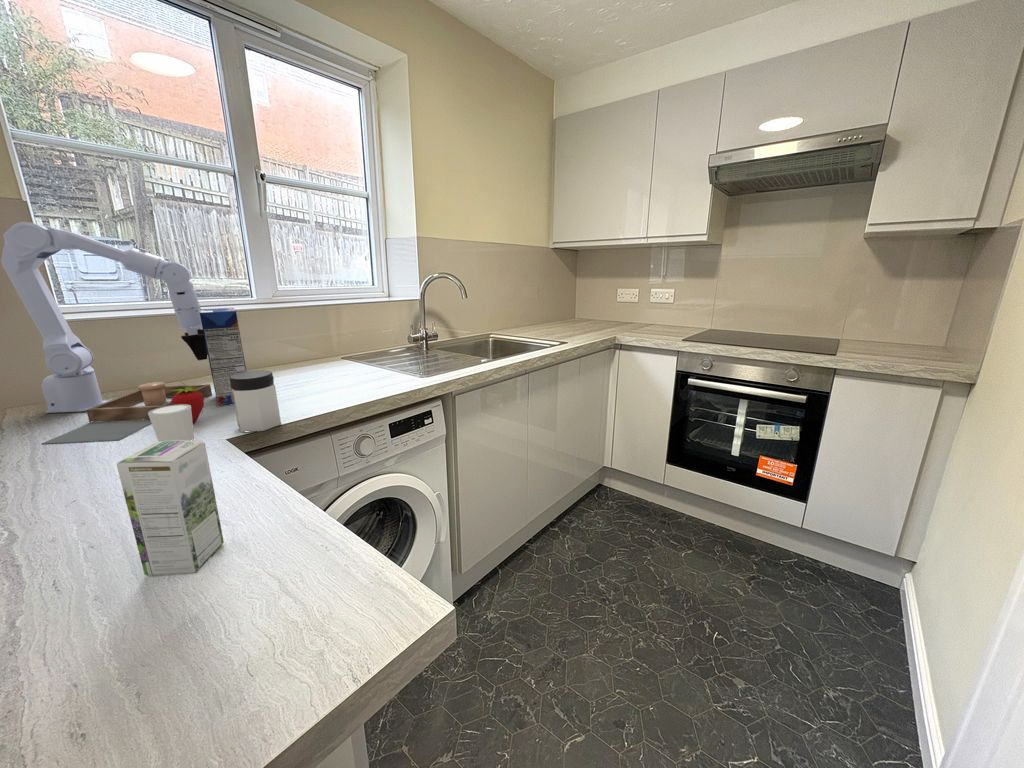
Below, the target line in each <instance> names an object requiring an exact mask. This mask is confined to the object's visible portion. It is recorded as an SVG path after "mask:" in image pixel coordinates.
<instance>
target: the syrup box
mask: <svg viewBox="0 0 1024 768" xmlns="http://www.w3.org/2000/svg"><path fill="white" fill-rule="evenodd" d="M116 467H117V472H118V476H119V479H120V483H121V488H122V492H123V495H124V499H125V503H126V507H127V512H128V515H129V518H130V523H131V527H132V531H133V534H134V537H135V542H136V545H137V551H138V554H139V558H140V562H141V566H142V570H143V574H144V576H148V577H149V576H166V575H168V576H170V575H181V574H182V575H183V574H185V575H186V574H196V573H197V572H198V571H199V570H200V569H201V568H203V566H204V565H205V564H206V563H207V562H208V560H210V558H211V557H212V556H213V555H214V554H215V553H216V552H217V551H218V550H219V549H220V547H222V546H223V544H224V542H225V541H224V536H223V530H222V525H221V520H220V515H219V510H218V505H217V499H216V495H215V494H216V493H215V488H214V483H213V477H212V472H211V468H210V462H209V458H208V452H207V446H206V443H205V442H204V441H200V440H199V441H197V440H192V441H188V440H172V441H161V442H158V441H156V442H153V443H152V444H150V445H148V446H146V447H144V448H142V449H140V450H139V451H137V452H135V453H133V454H131V455H129V456H127V457H126V458H123V459H122V460H120V461H118V462H117V463H116Z"/></svg>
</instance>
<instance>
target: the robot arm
mask: <svg viewBox="0 0 1024 768" xmlns="http://www.w3.org/2000/svg"><path fill="white" fill-rule="evenodd" d="M3 239H4V245H3V250H2V255H1V259H0V263H1V266H2V268H3V270H4V272H5V273H6V274H7V276H8V278H9V280H10V282H11V284H12V285H13V288H14V289H15V291H16V293H17V295H18V296H19V298H20V300H21V301H22V304H23V306H24V307H25V309H26V311H27V312H28V314H29V316H30V318H31V320H32V321H33V323H34V325H35V327H36V329H37V331H38V332H39V334H40V336H41V337H42V350H43V352H44V354H45V360H44V361H45V362H44V364H45V366H46V368H47V369H48V371H50V372H51V373H52V374H49V375H48V376H46V377H45V378H43V379H42V382H41V390H42V393H43V396H44V400H45V403H46V407H47V409H48V410H45V413H46V414H49V413H50V414H51V413H55V414H56V413H75V412H77V413H78V412H79V413H80V412H87V411H86V410H87V409H89V408H92V407H95V406H97V405H100V404H103V403H105V402H108V401H110V400H109V399H106V400H103V397H102V394H101V393H102V392H101V389H100V386H99V383H98V379H97V375H96V372H95V369H94V368H93V367H92V366H91V365H92V364H93V362H94V359H95V358H94V354H93V352H92V350H91V349H90V348H88V347H86V346H85V345H84V344H83V343H82V341H81V338H79V337H78V336H77V335H76V334H74V333H73V331H72V330H71V328H70V326H69V324H68V322H67V319H66V318H65V316H64V314H63V313H62V310H61V309H60V306H59V305H58V303H57V301H56V299H55V298H54V296H53V294H52V292H51V290H50V287H49V286H48V284H47V283H46V280H45V278H44V277H43V275H42V273H41V271H40V267H41V266H42V265H43V263H44V262H45V261H46V260H47V259H48V258H49V257H51V256H53V255H55V254H57V253H59V252H60V251H62V250H65V251H73V250H75V251H76V250H79V251H83V252H86V253H89V254H92V255H96V256H99V257H102V258H106V259H109V260H112V261H116V262H119V263H120V264H122V266H123V267H124V268H125V270H127V271H129V272H130V271H131V272H132V273H135V274H139V275H142V276H146V277H149V278H152V279H155V280H162V281H163V283H165V284H166V287H167V290H168V295H169V298H170V301H171V304H172V307H173V311H174V313H175V316H176V319H177V322H178V325H179V327H178V328H179V331H185V332H184V335H181V336H180V337H181V339H182V340H183V341H184V342H185V343H186V345H187V346H188V347H189V348H190V351H191V352H192V354H193V355H194V357H195V358H196V360H197V361H204V360H208V353H207V348H206V343H205V338H204V333H203V328H202V323H201V318H200V309H202V308H201V305H200V302H199V299H198V296H197V292H196V290H195V289H194V284H193V283H192V281H191V278H192V275H191V274H192V273H191V271H190V270H189V268H188V267H187V266H186V265H183V264H181V263H180V262H177V261H176V262H171V258H168V257H164V258H163V257H160V256H157V255H154V254H152V253H149V252H148V250H147V249H144V248H141V247H140V248H139V249H138V248H134V247H133V248H130V249H127V250H124V249H122V248H118V247H115V246H113V245H111V244H107V243H105V242H103V241H99V240H97V239H94V238H91V237H88V236H86V235H83V234H80V233H77V232H73V231H69V230H65V229H59V228H55V227H52V226H48V225H43V224H42V225H41V224H36V223H34V222H30V221H29V222H28V221H21V222H20V221H19V222H16V223H14V224H12V225H11V227H9V228H8V230H6V232H4V233H3Z"/></svg>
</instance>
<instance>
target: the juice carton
mask: <svg viewBox="0 0 1024 768" xmlns="http://www.w3.org/2000/svg"><path fill="white" fill-rule="evenodd" d="M200 318H201V323H202V328H201V329H203V333H204V338H205V343H206V348H207V353H208V355H207V359H208V363H209V369H210V372H211V378H212V383H213V389H214V394H215V398H216V402H217V403H216V404H217V407H218V406H219V407H224V405H226V406H231V405H230V404H233V405H234V402H233V396H232V391H231V385H230V380H229V377H230V376H231V375H233V374H236V373H240V372H246V371H247V367H246V361H245V354H244V349H243V344H242V338H241V331H240V327H239V326H240V325H239V320H238V315H237V310H236V309H235V308H234V307H221V308H217V307H216V308H201V309H200Z"/></svg>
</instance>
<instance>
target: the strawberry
mask: <svg viewBox="0 0 1024 768" xmlns="http://www.w3.org/2000/svg"><path fill="white" fill-rule="evenodd" d="M180 383H182V385H186V388H185V389H177V390H171V391H179V392H178V393H177V394H175V395H174V396H173V397H171V400H170V401H171V404H172V405H179V404H186V405H191V411H192V422H193V424H195V423H197V421H198V419H199V417H200V416H201V414H202V412H203V408H204V405H205V399H204V397H203V395H202V393H200V392H199V391H196V390H195V389H198V388H191V387H187V385H188V384H185V383H184V382H182V381H180Z"/></svg>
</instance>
